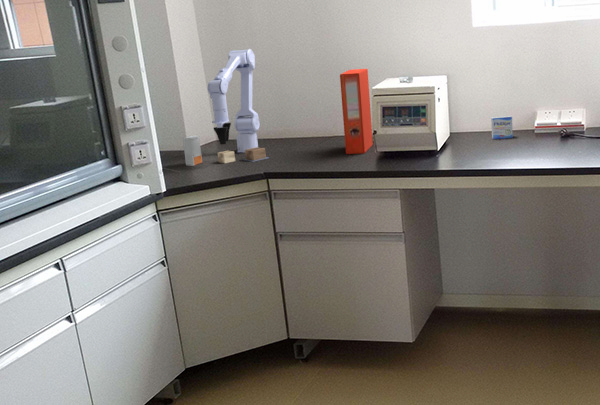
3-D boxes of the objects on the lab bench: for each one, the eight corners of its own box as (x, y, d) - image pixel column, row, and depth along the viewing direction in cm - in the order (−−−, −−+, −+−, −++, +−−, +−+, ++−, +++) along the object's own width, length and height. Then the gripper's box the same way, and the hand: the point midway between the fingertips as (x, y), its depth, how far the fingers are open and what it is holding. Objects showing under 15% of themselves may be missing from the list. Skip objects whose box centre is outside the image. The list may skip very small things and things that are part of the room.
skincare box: (194, 167, 321) (190, 138, 318) (186, 166, 323) (182, 138, 320) (203, 163, 326) (199, 135, 323) (195, 163, 328) (191, 135, 325)
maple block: (218, 162, 322) (217, 152, 321) (228, 159, 325) (227, 150, 324) (225, 163, 318) (223, 153, 317) (235, 161, 321) (234, 151, 320)
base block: (246, 159, 322) (244, 149, 321) (258, 156, 325) (256, 147, 324) (254, 160, 317) (252, 151, 316) (266, 157, 320) (265, 148, 319)
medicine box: (492, 139, 313) (491, 118, 310) (491, 137, 317) (490, 116, 315) (513, 138, 311) (512, 116, 309) (511, 136, 315) (511, 115, 313)
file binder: (373, 144, 328) (367, 68, 320) (365, 153, 312) (359, 72, 304) (354, 145, 330) (348, 69, 322) (346, 154, 314) (339, 74, 306)
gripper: (213, 108, 324) (217, 140, 327) (207, 112, 310) (212, 146, 313) (230, 106, 323) (234, 138, 326) (225, 111, 309) (229, 145, 312)
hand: (224, 142), depth 320 cm, fingers open, 7 cm apart
